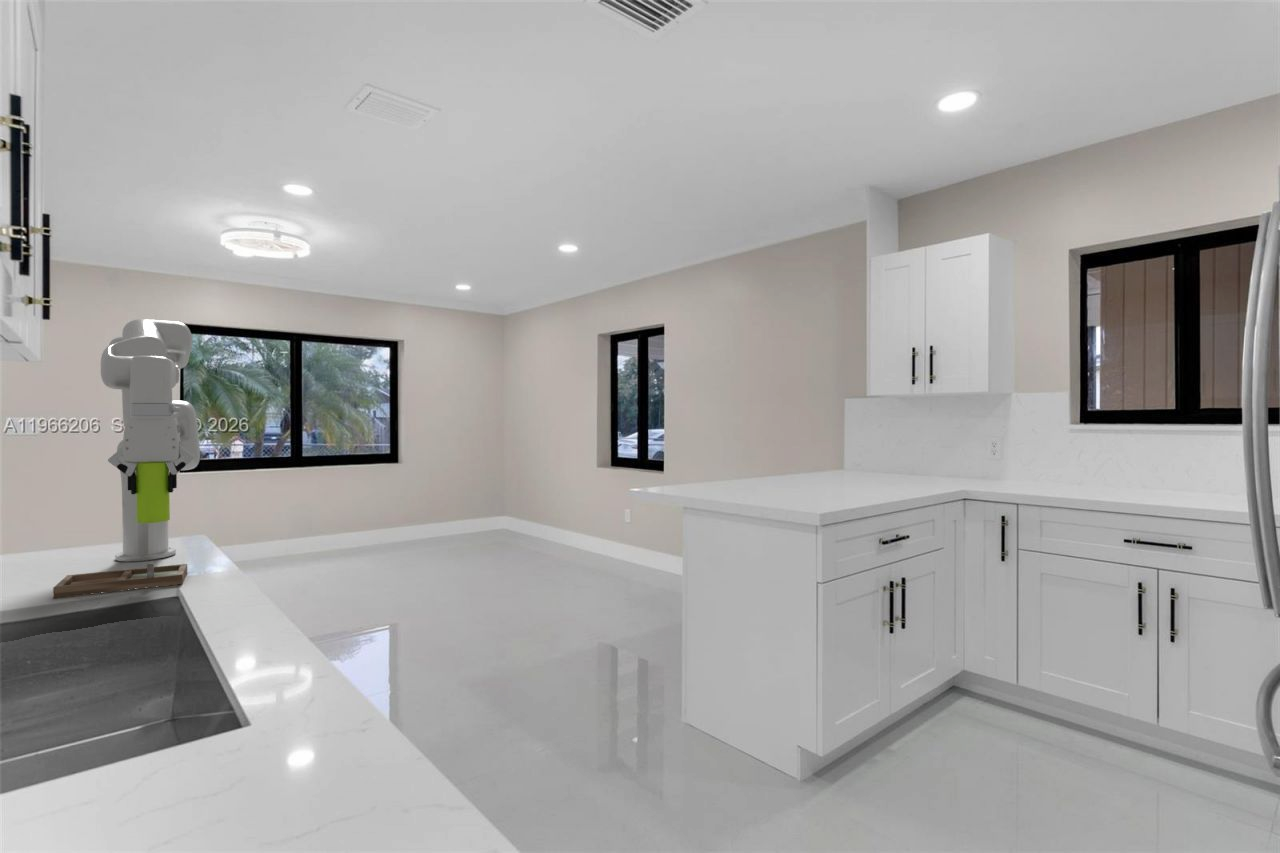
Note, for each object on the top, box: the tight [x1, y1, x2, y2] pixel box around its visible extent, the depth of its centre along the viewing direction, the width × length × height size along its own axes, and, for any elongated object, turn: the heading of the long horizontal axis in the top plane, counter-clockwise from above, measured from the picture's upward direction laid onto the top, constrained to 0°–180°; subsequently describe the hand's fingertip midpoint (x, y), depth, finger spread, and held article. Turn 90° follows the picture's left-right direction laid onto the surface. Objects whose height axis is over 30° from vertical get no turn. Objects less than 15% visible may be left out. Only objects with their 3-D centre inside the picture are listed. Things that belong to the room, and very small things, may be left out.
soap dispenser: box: [136, 434, 171, 523], centre depth 145 cm, size 6×7×20 cm
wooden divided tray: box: [52, 562, 188, 599], centre depth 143 cm, size 11×22×5 cm, turn 121°
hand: (152, 491), depth 145 cm, fingers closed on soap dispenser, 5 cm apart
